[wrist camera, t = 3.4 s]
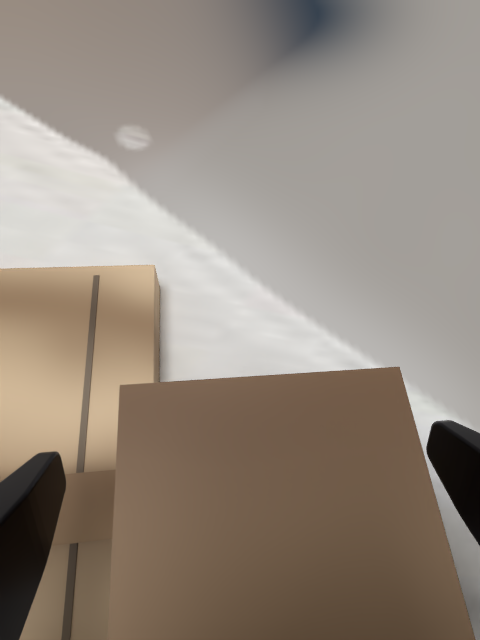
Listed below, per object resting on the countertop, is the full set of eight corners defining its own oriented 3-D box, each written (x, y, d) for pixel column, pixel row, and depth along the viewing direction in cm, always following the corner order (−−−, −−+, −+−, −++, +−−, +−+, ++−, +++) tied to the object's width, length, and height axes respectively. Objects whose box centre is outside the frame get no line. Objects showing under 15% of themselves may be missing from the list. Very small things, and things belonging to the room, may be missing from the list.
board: (158, 905, 10) (147, 1006, 8) (-161, 982, 9) (-257, 1115, 7) (159, 286, 18) (154, 263, 16) (-10, 291, 17) (-37, 268, 15)
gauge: (315, 532, 14) (518, 636, 5) (-104, 583, 12) (-989, 894, 3) (299, 429, 16) (432, 364, 7) (-74, 461, 14) (-606, 432, 5)
